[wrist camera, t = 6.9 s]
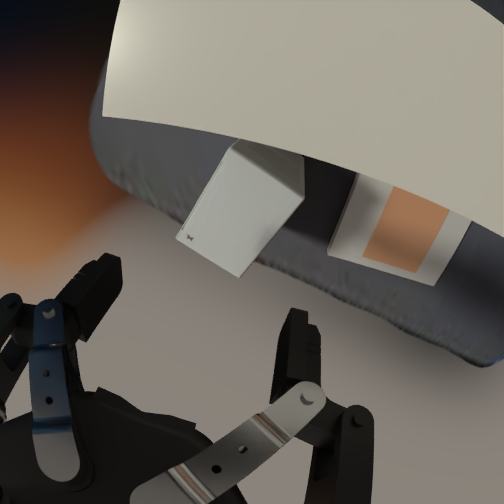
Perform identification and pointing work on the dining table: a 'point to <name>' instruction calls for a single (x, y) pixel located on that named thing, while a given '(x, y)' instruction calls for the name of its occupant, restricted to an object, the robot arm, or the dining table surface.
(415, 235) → the pad
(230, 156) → the small box
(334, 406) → the robot arm
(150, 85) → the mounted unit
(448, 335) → the dining table surface
